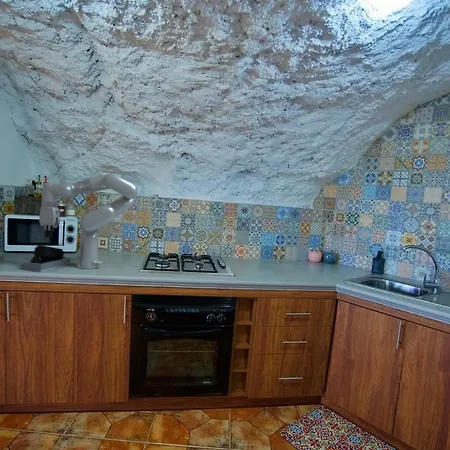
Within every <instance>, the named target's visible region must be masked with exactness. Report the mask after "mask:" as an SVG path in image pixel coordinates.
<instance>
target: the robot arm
mask: <svg viewBox="0 0 450 450" xmlns="http://www.w3.org/2000/svg"><path fill="white" fill-rule="evenodd" d="M41 187H42V191H41V193H42V194H41V207H40V211H39V217H38V218H39V225H40V227H43V229H44V232H45V233H44V234H45V235H44V236H45V238H47V239H48V238H52V237H53V231H54V229H55V228H58V227H59V225H60V222H61V221H60V220H61V219H60V218H61V217H60V209H59V208H58V206H59V203H58V197H62V198H67V197H72V196H73V197H74V196H78V195H83V194H91V193H96V192H101V191H106V190H110V189H111V190H112V191H114V192H116V193H118V194H119V195H121V196H119V197H118V198H117V199H115V200H113V201H112V202H111V201H110V203H107V204H104V205H102V206H101V207H98V208H97V209H95V210H93V211H91V212H89V213H86V214H84V215H83V216H82V217H81V218H80V220H79V226H80V229H81V230H80V247H79V252H80V253H79V263H77V264H76V267H77V268H79V269H89V270H90V269H92V270H93V269H97V268H100V267H101V266H102V265H103V261H100V258H98V257H99V256H98V251H99V231H100V228H101V227H103V226H105V225H107V224H109V223H110V222H112V221H113V220H114V219H116V217H117V216H119V215H121V214H123V213H124V212H126V211H128V210H129V209H131V208H132V207H133V206H134V204H135V203H136V199H137V196H138V188H137V186H136V185H135V184H134V183H131V182H129V181H128V180H126V179H124V178H122V177H120V176H119V175H118V174H116V173H112V172H111V173H107V174H103V175H97V176H91V177H88V178H85V179H83V180H78V181H74V182H69V183H55V182H43V183H42V186H41Z"/></svg>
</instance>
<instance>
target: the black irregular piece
mask: <svg viewBox="0 0 450 450" xmlns="http://www.w3.org/2000/svg"><path fill="white" fill-rule="evenodd" d="M33 255H34V256H32V259H30V261H32V262H31V263H39V262H38V261H42V263H41V264H43V263H47V262H51V260H60V259H63V257H64V255H65V251H64V250H63V248H59V247H58V248H57V247H52V246H47V245H42V244H38V245H36V246H35V247H34V251H33ZM40 258H41V259H40Z"/></svg>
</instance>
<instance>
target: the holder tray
mask: <svg viewBox="0 0 450 450" xmlns="http://www.w3.org/2000/svg"><path fill="white" fill-rule="evenodd" d="M39 259H41V258H39ZM31 262H32V261H31V260H27V261H23V270H26V271H33V272H39V273H42V272H46V271H50V270H52V269H57V268H60V267H64V266H68V265H70V264H71V257H69V256H63V259H60V260H51V262H47V263H43V264H41V263H42V261H38V262H39V263H31Z"/></svg>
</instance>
